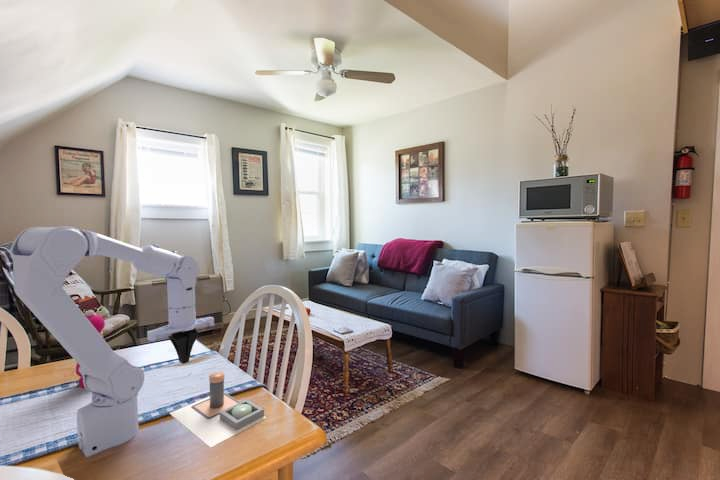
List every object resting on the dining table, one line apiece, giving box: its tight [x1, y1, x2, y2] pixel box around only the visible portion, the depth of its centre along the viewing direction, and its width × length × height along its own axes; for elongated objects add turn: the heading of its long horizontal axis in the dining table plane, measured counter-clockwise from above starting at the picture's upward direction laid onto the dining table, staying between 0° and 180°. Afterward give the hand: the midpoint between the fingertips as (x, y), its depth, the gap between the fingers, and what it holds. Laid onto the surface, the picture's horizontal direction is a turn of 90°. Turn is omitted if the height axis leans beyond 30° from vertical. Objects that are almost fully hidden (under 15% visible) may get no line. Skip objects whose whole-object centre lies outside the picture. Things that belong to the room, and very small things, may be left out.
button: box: [232, 404, 252, 420], centre depth 73 cm, size 4×4×2 cm
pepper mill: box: [75, 309, 106, 389], centre depth 91 cm, size 7×7×20 cm
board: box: [168, 392, 267, 448], centre depth 74 cm, size 14×20×2 cm
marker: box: [208, 371, 225, 408], centre depth 78 cm, size 3×3×7 cm
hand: (184, 361), depth 81 cm, fingers closed
